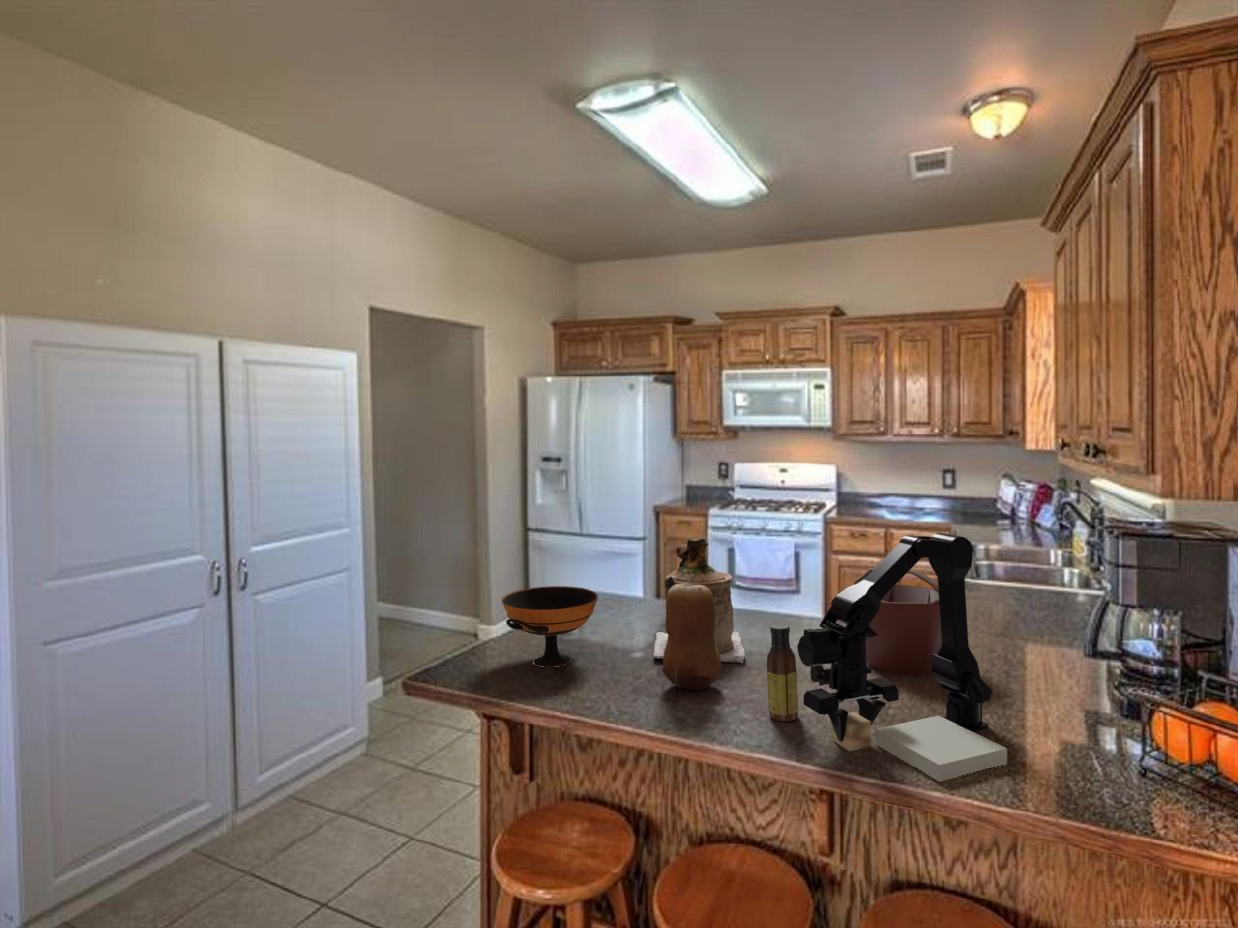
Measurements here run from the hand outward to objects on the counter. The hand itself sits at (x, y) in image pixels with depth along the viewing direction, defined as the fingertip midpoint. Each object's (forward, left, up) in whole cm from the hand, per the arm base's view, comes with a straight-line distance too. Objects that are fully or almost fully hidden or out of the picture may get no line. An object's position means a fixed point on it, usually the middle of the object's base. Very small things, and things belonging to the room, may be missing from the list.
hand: (851, 738), depth 139 cm
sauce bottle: (+5, -16, -1) cm, 17 cm away
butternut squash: (+15, -39, -1) cm, 42 cm away
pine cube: (0, 0, -1) cm, 1 cm away
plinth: (-12, +10, -1) cm, 16 cm away
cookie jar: (0, -64, -1) cm, 64 cm away
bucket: (-42, -32, -1) cm, 53 cm away
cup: (+41, -71, -1) cm, 82 cm away
